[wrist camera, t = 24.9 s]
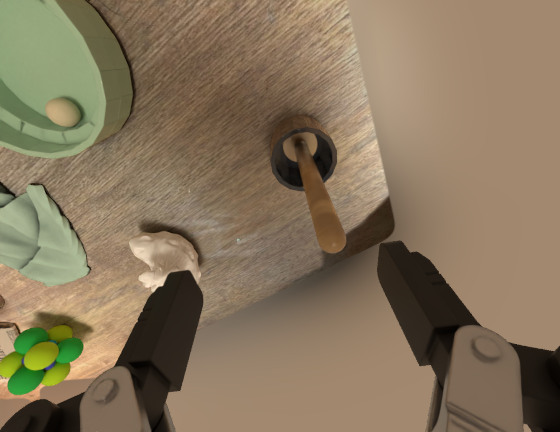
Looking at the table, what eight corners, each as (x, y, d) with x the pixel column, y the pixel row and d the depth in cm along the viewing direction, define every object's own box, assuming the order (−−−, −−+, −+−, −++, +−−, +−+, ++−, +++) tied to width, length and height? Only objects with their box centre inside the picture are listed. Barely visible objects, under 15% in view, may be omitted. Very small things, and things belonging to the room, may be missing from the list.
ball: (64, 89, 25) (80, 113, 28) (33, 98, 24) (52, 122, 26) (75, 102, 24) (90, 125, 27) (43, 111, 23) (62, 135, 25)
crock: (324, 110, 28) (336, 122, 23) (326, 165, 32) (337, 185, 27) (266, 119, 29) (265, 133, 24) (275, 173, 33) (276, 195, 28)
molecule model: (46, 358, 50) (66, 386, 47) (-13, 370, 42) (6, 405, 39) (71, 319, 51) (92, 344, 48) (18, 324, 43) (39, 354, 40)
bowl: (82, -53, 20) (21, -88, 15) (159, 129, 29) (136, 145, 24) (-82, -19, 21) (-190, -41, 16) (40, 149, 30) (-6, 168, 25)
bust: (208, 255, 43) (229, 276, 34) (178, 290, 41) (192, 323, 32) (151, 211, 38) (157, 222, 28) (114, 249, 36) (106, 274, 26)
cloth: (61, 294, 45) (51, 305, 43) (-96, 217, 34) (-118, 228, 32) (128, 242, 38) (120, 252, 36) (-39, 129, 28) (-62, 135, 26)
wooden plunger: (315, 123, 28) (378, 217, 12) (313, 155, 31) (364, 272, 14) (282, 124, 28) (299, 220, 12) (282, 156, 31) (297, 275, 14)
